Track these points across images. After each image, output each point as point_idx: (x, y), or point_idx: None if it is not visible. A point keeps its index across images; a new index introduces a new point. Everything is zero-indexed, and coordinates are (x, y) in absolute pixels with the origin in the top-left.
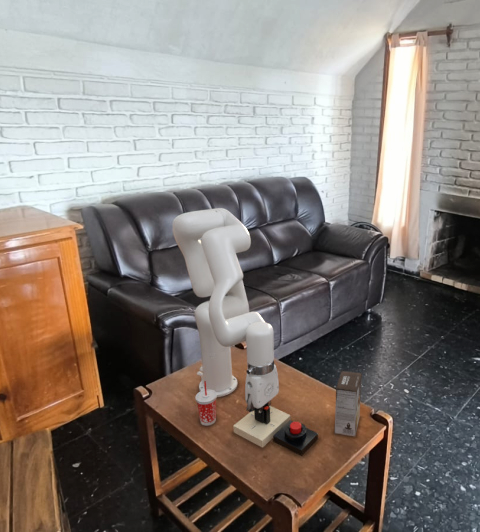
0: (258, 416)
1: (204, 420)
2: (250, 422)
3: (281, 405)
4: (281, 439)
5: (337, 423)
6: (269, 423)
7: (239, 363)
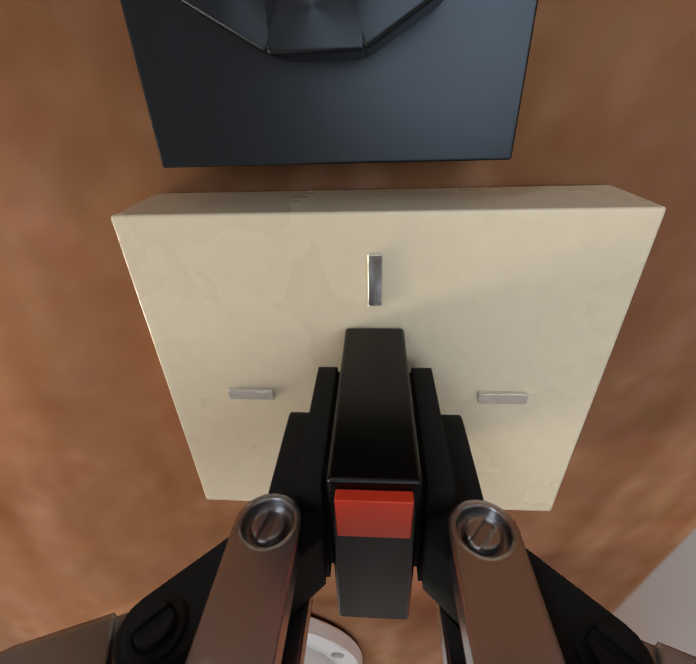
0: (472, 466)
1: None
2: None
3: (95, 380)
4: None
5: None
6: (370, 319)
7: None
